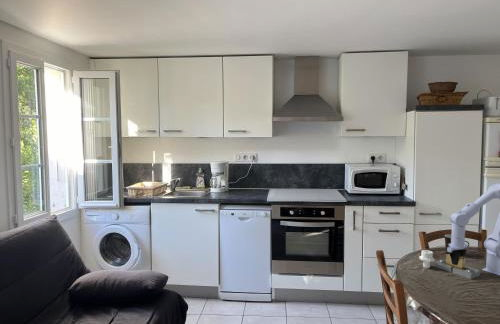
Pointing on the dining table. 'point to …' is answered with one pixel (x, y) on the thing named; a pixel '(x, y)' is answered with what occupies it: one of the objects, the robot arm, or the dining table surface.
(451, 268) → the grey slotted frame
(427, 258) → the pipe fitting
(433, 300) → the dining table surface
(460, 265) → the gold bar with studs
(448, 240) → the coffee mug
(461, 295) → the dining table surface
